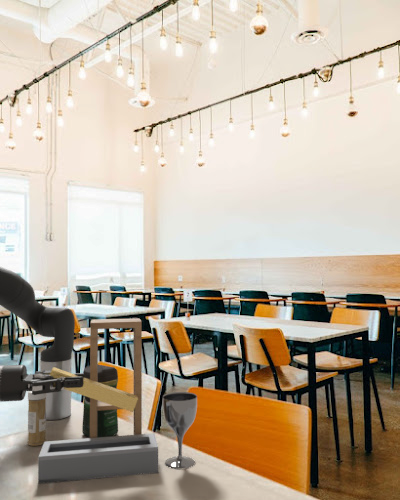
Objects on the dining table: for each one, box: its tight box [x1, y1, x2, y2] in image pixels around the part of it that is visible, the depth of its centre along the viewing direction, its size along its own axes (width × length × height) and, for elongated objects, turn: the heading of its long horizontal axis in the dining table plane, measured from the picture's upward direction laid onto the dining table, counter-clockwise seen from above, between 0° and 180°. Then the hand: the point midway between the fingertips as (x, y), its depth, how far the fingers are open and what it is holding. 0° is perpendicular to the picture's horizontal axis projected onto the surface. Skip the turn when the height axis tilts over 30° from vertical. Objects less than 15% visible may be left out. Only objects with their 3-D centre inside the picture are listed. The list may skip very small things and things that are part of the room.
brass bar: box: [49, 367, 138, 413], centre depth 100 cm, size 3×20×3 cm, turn 101°
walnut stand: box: [89, 317, 143, 438], centre depth 110 cm, size 8×12×32 cm, turn 101°
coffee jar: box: [81, 364, 119, 438], centre depth 123 cm, size 10×8×19 cm
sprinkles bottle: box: [27, 391, 47, 447], centre depth 117 cm, size 5×5×14 cm
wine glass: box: [162, 391, 198, 470], centre depth 104 cm, size 8×8×15 cm
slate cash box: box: [37, 432, 159, 485], centre depth 100 cm, size 9×25×6 cm, turn 101°
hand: (83, 380), depth 100 cm, fingers closed on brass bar, 3 cm apart
